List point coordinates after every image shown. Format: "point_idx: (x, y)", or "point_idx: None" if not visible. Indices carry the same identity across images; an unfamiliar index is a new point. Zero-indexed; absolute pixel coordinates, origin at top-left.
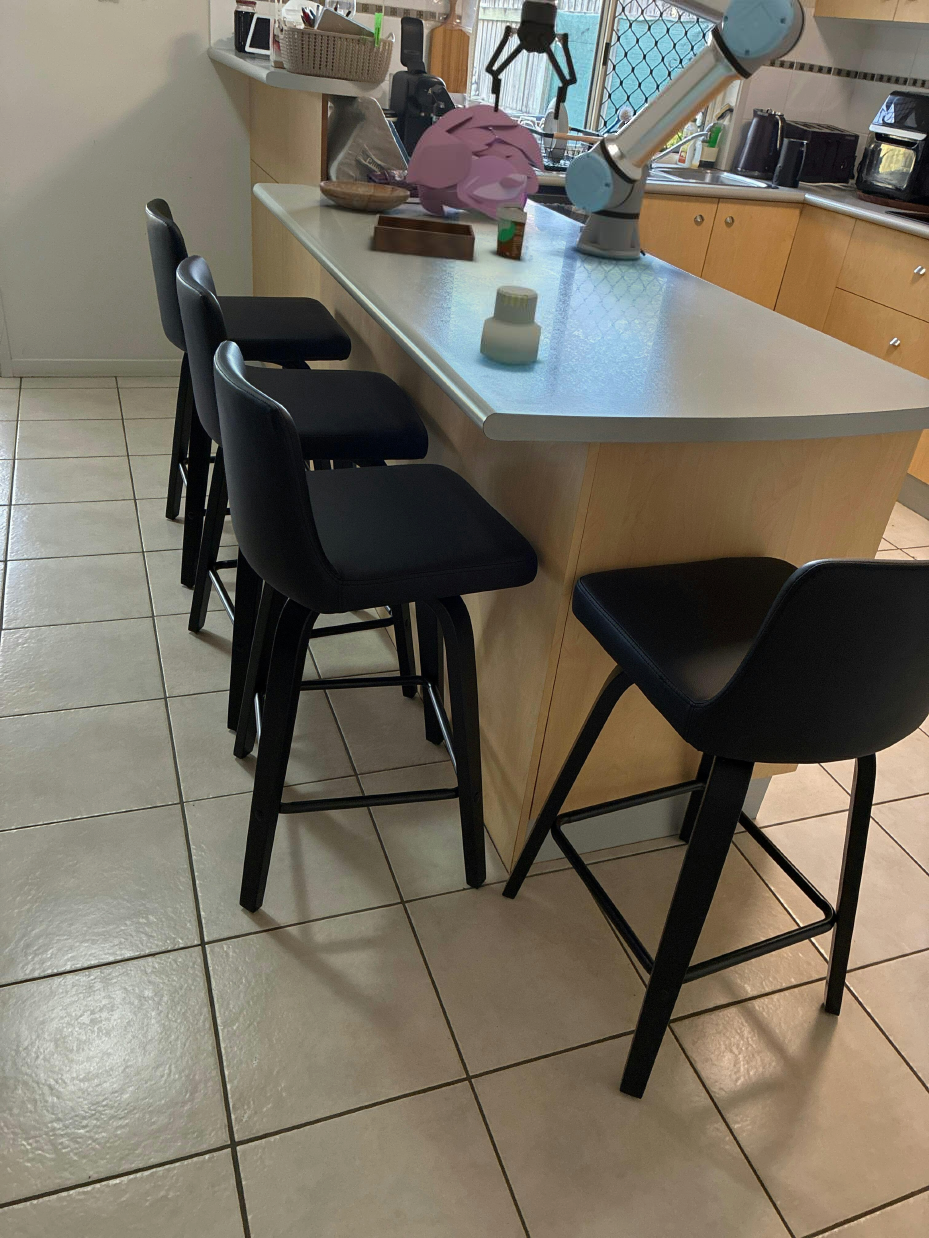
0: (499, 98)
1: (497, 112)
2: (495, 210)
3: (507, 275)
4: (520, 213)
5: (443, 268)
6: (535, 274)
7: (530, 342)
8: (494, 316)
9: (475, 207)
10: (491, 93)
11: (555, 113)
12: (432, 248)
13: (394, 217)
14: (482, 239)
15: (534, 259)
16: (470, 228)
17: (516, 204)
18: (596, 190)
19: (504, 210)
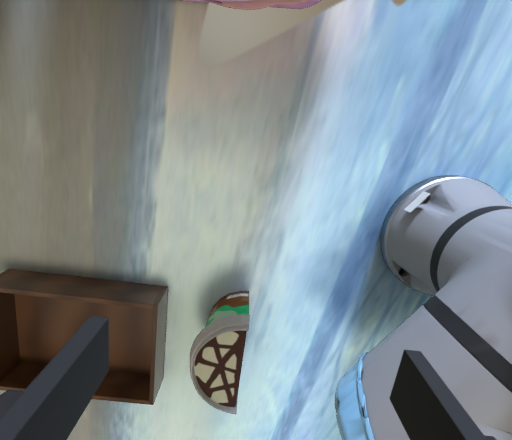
0: (73, 425)
1: (106, 370)
2: (258, 7)
3: (201, 436)
4: (224, 408)
5: (118, 427)
6: (243, 420)
7: None
8: None
9: (204, 1)
10: (5, 393)
11: (403, 414)
12: None
13: (13, 293)
14: (204, 200)
15: (268, 332)
16: (152, 340)
17: (235, 330)
18: None
19: (198, 388)
